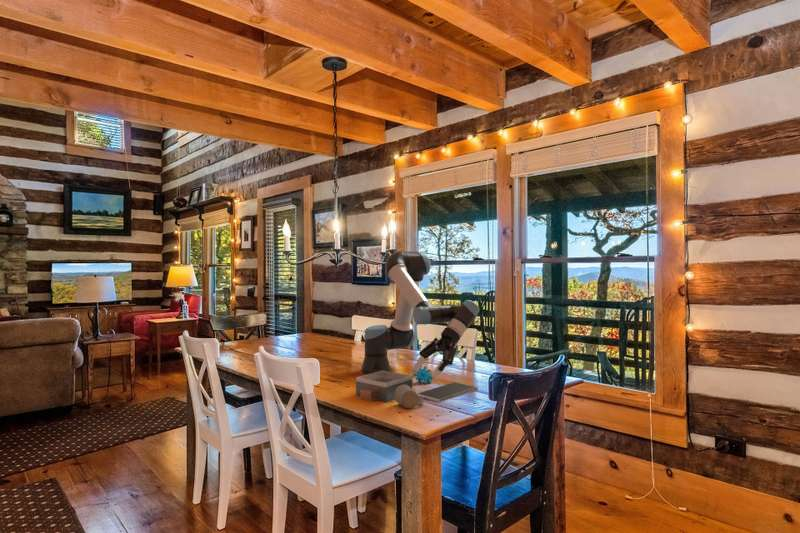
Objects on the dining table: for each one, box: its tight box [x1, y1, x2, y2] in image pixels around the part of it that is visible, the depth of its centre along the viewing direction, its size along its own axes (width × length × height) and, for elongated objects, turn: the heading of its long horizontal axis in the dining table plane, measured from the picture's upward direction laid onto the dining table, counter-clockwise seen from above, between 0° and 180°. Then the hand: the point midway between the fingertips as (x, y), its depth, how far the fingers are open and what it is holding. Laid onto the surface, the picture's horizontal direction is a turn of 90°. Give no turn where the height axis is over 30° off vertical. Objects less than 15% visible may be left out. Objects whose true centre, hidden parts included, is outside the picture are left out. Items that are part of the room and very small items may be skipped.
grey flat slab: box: [416, 381, 479, 403], centre depth 201 cm, size 13×27×2 cm, turn 134°
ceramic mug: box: [394, 385, 424, 409], centre depth 183 cm, size 11×8×8 cm
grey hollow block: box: [355, 370, 413, 403], centre depth 199 cm, size 17×20×8 cm
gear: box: [412, 365, 434, 385], centre depth 220 cm, size 11×6×10 cm
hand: (423, 373), depth 186 cm, fingers open, 13 cm apart
